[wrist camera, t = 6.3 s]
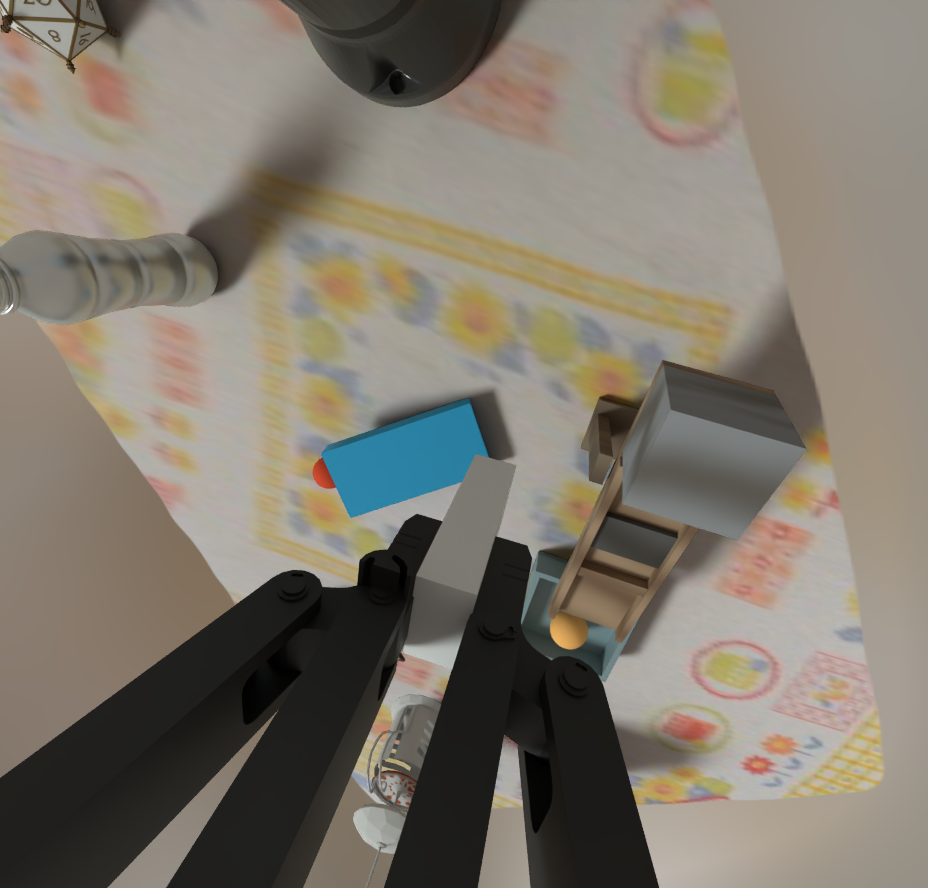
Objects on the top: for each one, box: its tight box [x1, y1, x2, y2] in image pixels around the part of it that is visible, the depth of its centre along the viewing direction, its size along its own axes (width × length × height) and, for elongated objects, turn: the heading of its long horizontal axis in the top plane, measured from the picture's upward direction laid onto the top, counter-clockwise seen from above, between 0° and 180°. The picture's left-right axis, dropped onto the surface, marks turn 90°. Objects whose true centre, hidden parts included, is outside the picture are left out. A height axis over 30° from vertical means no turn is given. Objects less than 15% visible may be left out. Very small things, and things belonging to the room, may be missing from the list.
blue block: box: [313, 398, 489, 518], centre depth 49 cm, size 7×7×19 cm
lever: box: [548, 360, 806, 643], centre depth 35 cm, size 26×7×7 cm, turn 167°
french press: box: [353, 695, 441, 888], centre depth 55 cm, size 10×12×25 cm
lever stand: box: [581, 397, 639, 485], centre depth 39 cm, size 5×10×10 cm, turn 77°
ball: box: [550, 611, 588, 649], centre depth 51 cm, size 4×4×4 cm
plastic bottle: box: [0, 230, 218, 325], centre depth 39 cm, size 6×7×20 cm
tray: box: [521, 551, 639, 682], centre depth 51 cm, size 11×11×4 cm
